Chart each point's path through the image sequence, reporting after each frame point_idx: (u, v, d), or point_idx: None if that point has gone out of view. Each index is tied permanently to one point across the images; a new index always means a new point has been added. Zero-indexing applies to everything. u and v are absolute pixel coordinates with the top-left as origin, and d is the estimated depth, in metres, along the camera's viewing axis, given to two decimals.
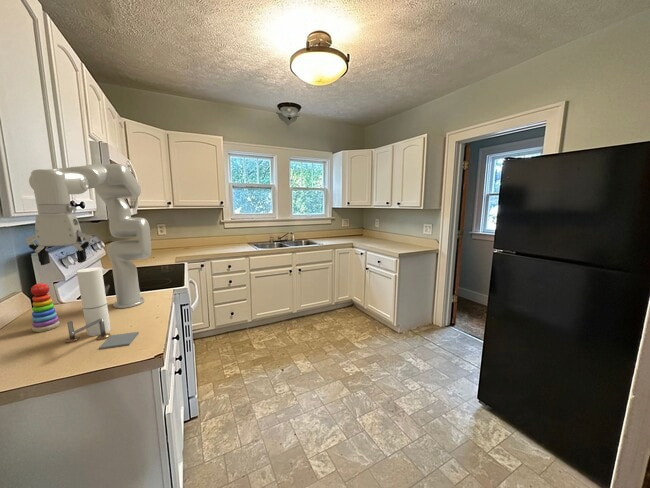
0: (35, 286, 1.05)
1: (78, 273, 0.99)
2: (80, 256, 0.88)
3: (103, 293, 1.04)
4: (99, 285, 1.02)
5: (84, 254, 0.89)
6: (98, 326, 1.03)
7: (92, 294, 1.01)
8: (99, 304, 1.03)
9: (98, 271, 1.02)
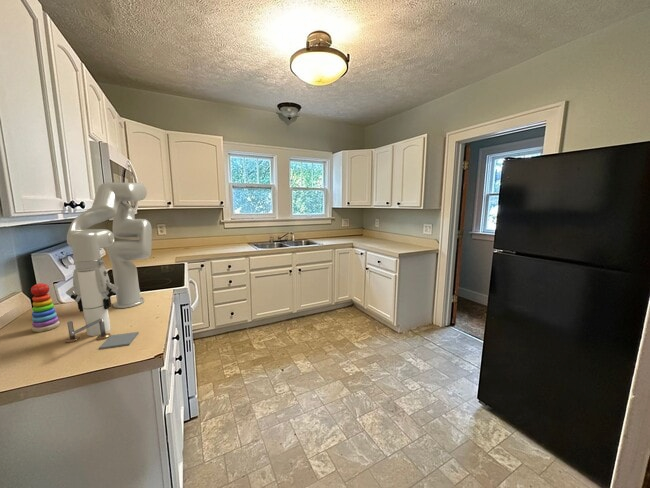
0: (35, 286, 1.05)
1: (78, 273, 0.99)
2: (106, 303, 1.04)
3: None
4: None
5: (109, 301, 1.05)
6: (98, 326, 1.03)
7: (92, 295, 1.01)
8: (99, 304, 1.03)
9: None
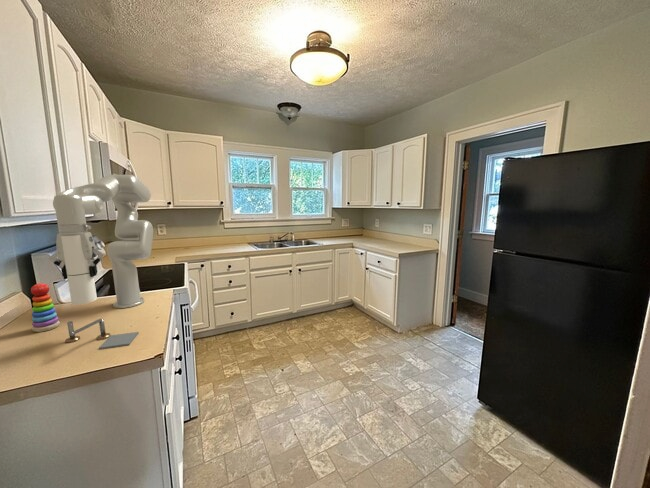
0: (35, 286, 1.05)
1: (62, 237, 0.94)
2: (92, 271, 1.00)
3: None
4: None
5: (95, 269, 1.01)
6: (83, 294, 0.98)
7: (76, 260, 0.96)
8: (84, 271, 0.98)
9: None
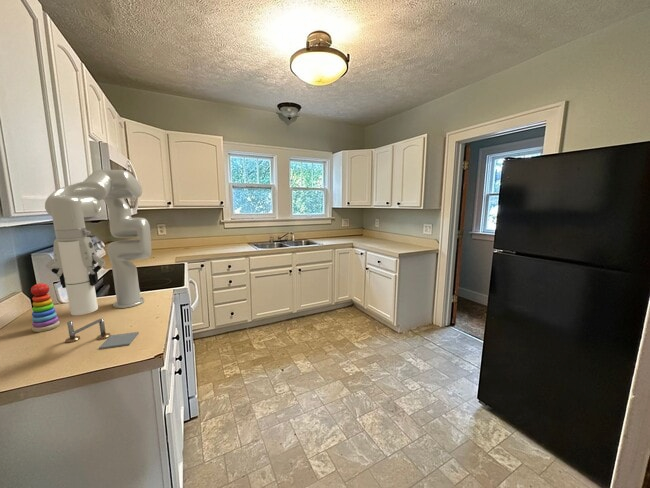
0: (35, 286, 1.05)
1: (59, 243, 0.87)
2: (92, 279, 0.93)
3: None
4: None
5: (96, 277, 0.94)
6: (83, 304, 0.91)
7: (75, 268, 0.89)
8: (84, 279, 0.91)
9: None
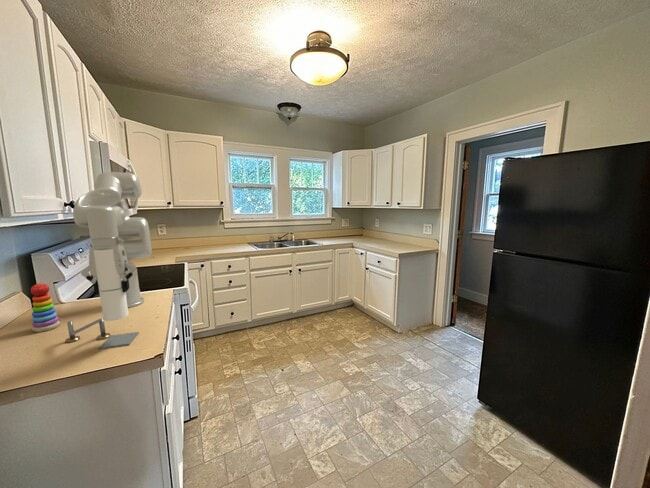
0: (35, 286, 1.05)
1: (95, 251, 0.90)
2: (124, 286, 0.95)
3: None
4: None
5: (128, 284, 0.97)
6: (116, 310, 0.94)
7: (109, 275, 0.92)
8: (117, 286, 0.94)
9: None
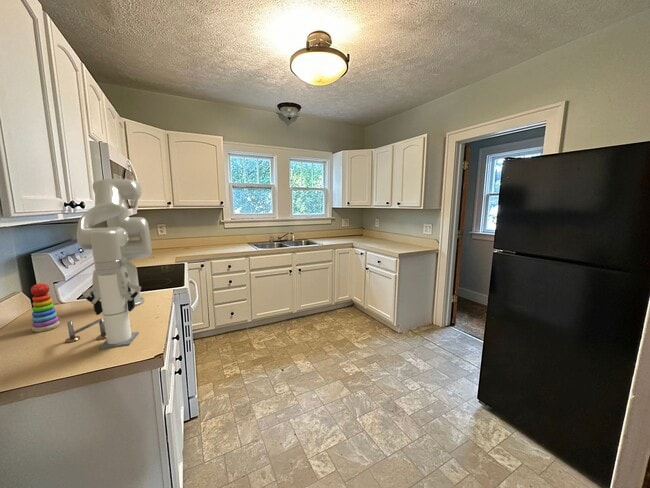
0: (35, 286, 1.05)
1: (99, 277, 0.91)
2: (130, 305, 0.97)
3: (124, 298, 0.97)
4: None
5: (133, 303, 0.98)
6: (119, 334, 0.96)
7: (113, 300, 0.93)
8: (120, 310, 0.95)
9: None
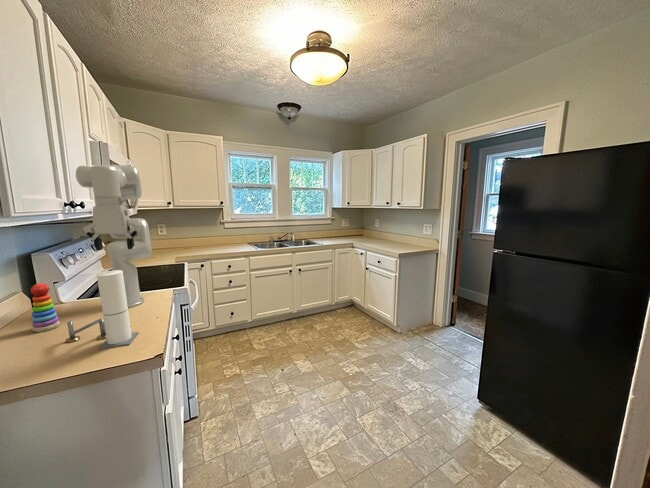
0: (35, 286, 1.05)
1: (98, 277, 0.92)
2: (129, 243, 0.99)
3: (124, 298, 0.97)
4: (120, 290, 0.95)
5: (132, 242, 1.00)
6: (119, 334, 0.96)
7: (113, 300, 0.93)
8: (120, 310, 0.95)
9: (119, 274, 0.95)
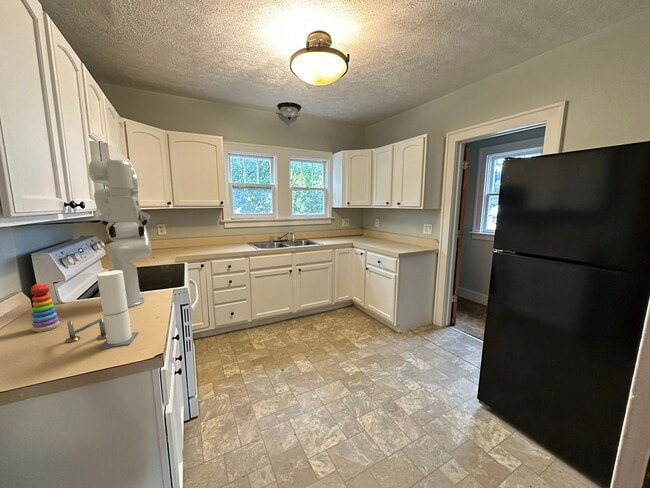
0: (35, 286, 1.05)
1: (99, 277, 0.92)
2: (141, 231, 1.08)
3: (124, 298, 0.97)
4: (120, 290, 0.95)
5: (143, 230, 1.09)
6: (119, 334, 0.96)
7: (113, 300, 0.93)
8: (120, 310, 0.95)
9: (119, 274, 0.95)
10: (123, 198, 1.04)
